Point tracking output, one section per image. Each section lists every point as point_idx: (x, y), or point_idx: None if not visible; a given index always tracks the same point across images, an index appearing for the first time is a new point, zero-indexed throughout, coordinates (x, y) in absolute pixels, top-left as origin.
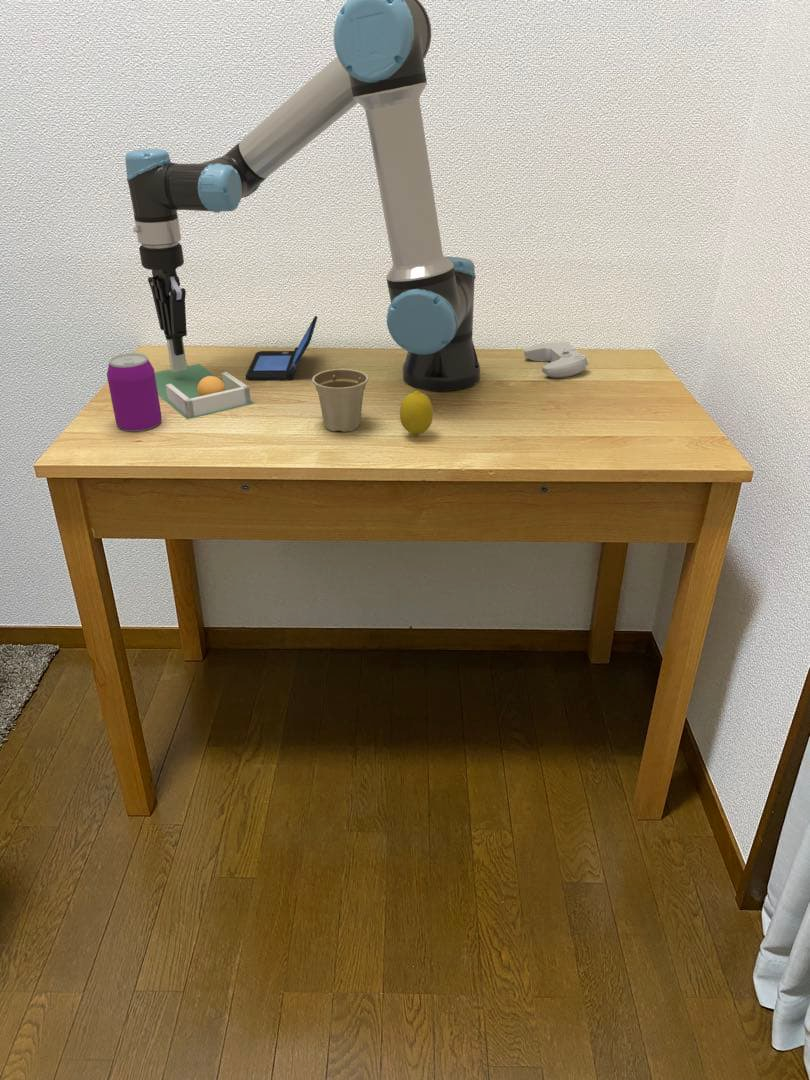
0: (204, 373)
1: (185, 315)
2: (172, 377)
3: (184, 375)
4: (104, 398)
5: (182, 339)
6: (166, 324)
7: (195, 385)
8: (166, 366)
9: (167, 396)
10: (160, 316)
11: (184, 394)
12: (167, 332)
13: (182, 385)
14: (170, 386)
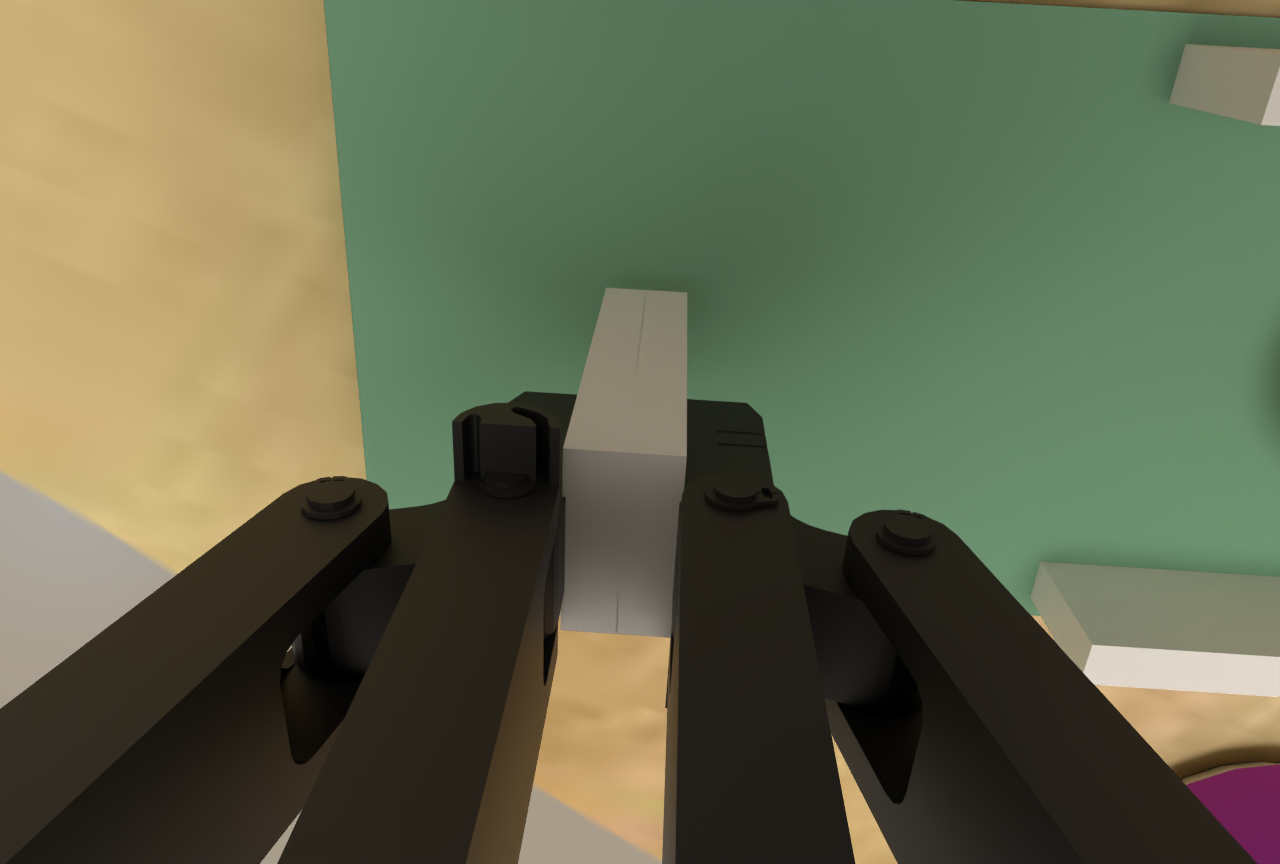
0: (649, 62)
1: (1224, 831)
2: (565, 365)
3: (583, 258)
4: (638, 832)
5: (682, 437)
6: (540, 733)
7: (899, 293)
8: (187, 256)
9: (1044, 617)
10: (297, 805)
11: (1021, 458)
12: (555, 644)
13: (816, 383)
14: (1148, 670)
